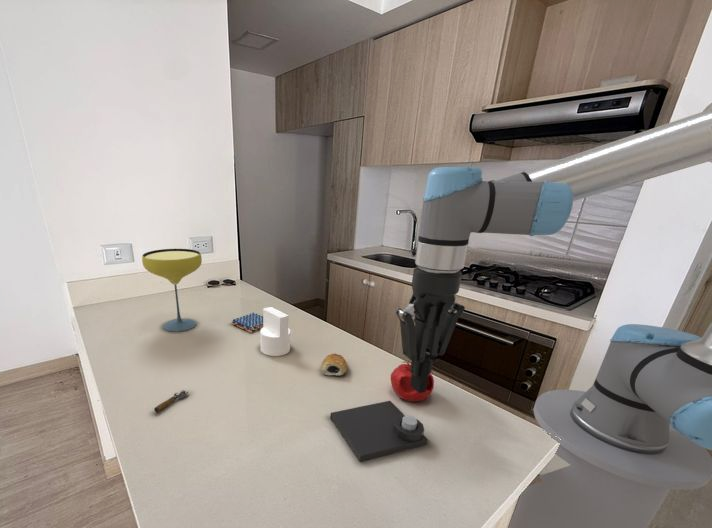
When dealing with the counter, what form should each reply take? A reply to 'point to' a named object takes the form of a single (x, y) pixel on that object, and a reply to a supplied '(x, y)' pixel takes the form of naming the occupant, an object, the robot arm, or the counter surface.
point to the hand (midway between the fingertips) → (417, 388)
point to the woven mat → (249, 322)
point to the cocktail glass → (173, 275)
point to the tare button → (409, 423)
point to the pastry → (334, 365)
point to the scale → (376, 430)
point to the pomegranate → (402, 384)
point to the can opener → (170, 400)
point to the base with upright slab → (274, 333)
